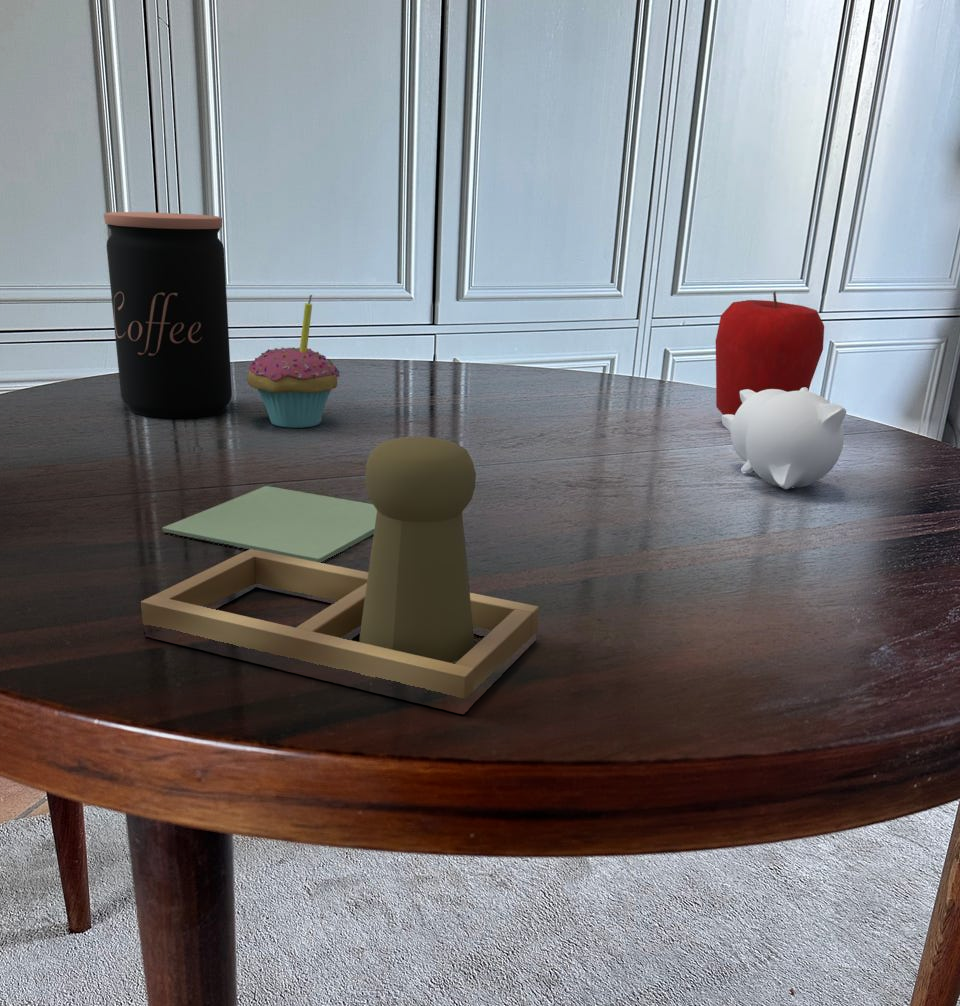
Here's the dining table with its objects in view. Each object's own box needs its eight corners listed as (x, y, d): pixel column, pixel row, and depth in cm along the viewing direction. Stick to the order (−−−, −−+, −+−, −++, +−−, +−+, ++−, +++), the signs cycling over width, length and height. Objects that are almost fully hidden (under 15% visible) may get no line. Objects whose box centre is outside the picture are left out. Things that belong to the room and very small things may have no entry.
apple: (702, 431, 104) (721, 291, 98) (706, 412, 113) (724, 283, 108) (810, 442, 102) (835, 299, 96) (805, 421, 111) (828, 290, 105)
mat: (162, 533, 68) (161, 527, 67) (266, 490, 78) (266, 485, 78) (319, 564, 63) (318, 558, 63) (407, 515, 74) (407, 510, 73)
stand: (143, 637, 52) (140, 601, 52) (251, 580, 61) (250, 548, 60) (463, 716, 46) (465, 676, 45) (536, 640, 54) (539, 605, 54)
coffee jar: (99, 412, 100) (78, 212, 92) (161, 394, 109) (146, 211, 102) (197, 424, 97) (183, 219, 90) (252, 404, 106) (243, 217, 99)
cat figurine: (753, 354, 89) (816, 374, 78) (838, 421, 93) (909, 449, 82) (692, 438, 91) (744, 469, 80) (776, 501, 95) (838, 538, 84)
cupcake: (352, 419, 102) (351, 292, 97) (317, 436, 95) (314, 300, 90) (273, 410, 104) (268, 286, 99) (233, 427, 96) (225, 293, 92)
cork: (413, 622, 56) (417, 420, 51) (500, 655, 52) (512, 442, 48) (331, 655, 51) (327, 438, 47) (420, 694, 48) (425, 464, 44)
